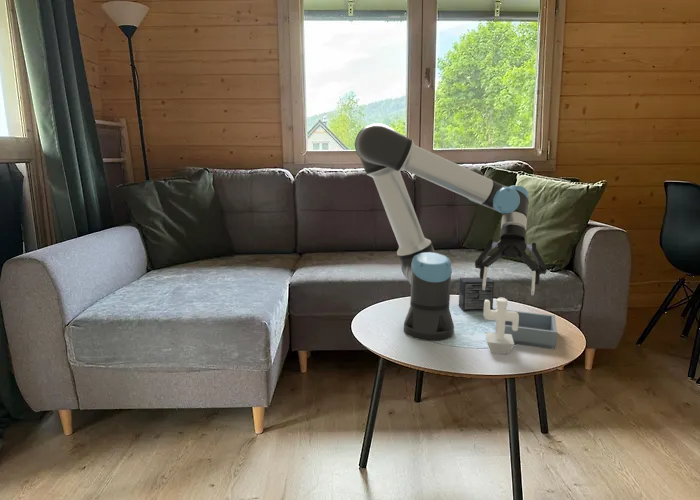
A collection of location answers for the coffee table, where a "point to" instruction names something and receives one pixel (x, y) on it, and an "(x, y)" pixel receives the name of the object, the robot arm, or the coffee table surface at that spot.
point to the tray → (534, 330)
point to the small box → (475, 294)
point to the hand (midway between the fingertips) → (507, 290)
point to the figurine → (500, 326)
